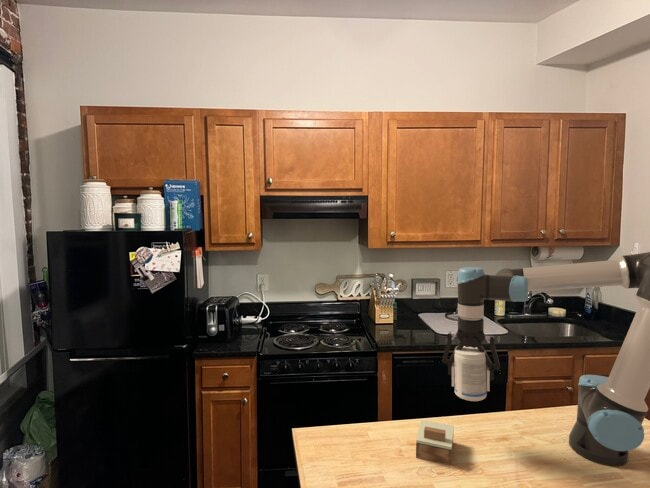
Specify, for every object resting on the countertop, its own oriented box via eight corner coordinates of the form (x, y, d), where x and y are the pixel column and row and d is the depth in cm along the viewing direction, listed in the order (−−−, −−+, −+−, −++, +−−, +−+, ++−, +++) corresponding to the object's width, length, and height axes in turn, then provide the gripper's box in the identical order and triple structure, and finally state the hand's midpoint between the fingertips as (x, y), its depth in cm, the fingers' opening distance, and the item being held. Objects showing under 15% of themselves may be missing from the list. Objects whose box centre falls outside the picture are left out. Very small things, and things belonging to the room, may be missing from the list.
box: (453, 444, 124) (453, 429, 124) (451, 468, 113) (451, 450, 113) (420, 438, 128) (421, 423, 127) (415, 460, 117) (416, 443, 116)
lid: (453, 428, 124) (453, 418, 124) (451, 449, 113) (451, 438, 112) (421, 422, 127) (421, 412, 127) (416, 442, 116) (416, 431, 116)
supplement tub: (493, 397, 122) (493, 350, 121) (473, 405, 117) (473, 357, 116) (466, 386, 130) (466, 342, 129) (447, 393, 125) (447, 348, 124)
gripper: (509, 316, 121) (508, 387, 123) (434, 311, 129) (435, 377, 131) (511, 323, 114) (510, 397, 116) (432, 317, 122) (432, 387, 124)
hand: (470, 387), depth 123 cm, fingers closed on supplement tub, 10 cm apart
